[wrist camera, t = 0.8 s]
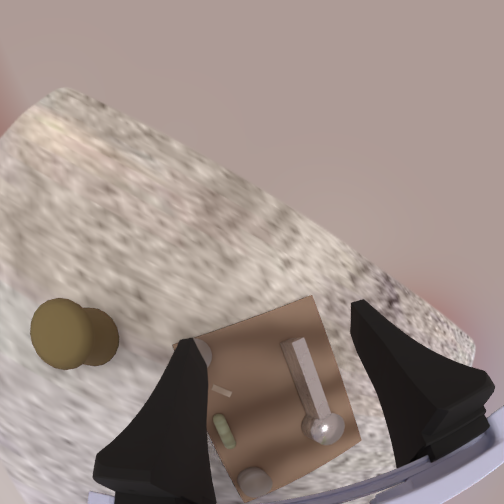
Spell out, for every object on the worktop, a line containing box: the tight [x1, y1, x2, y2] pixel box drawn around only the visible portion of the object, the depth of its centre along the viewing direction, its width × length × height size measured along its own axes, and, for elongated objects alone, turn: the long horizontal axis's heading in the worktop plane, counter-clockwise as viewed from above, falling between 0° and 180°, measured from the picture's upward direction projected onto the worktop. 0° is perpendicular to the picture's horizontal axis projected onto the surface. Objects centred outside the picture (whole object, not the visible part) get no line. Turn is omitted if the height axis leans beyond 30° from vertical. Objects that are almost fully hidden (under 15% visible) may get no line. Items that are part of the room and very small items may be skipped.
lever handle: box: [280, 337, 345, 445], centre depth 27 cm, size 12×4×3 cm, turn 20°
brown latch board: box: [173, 295, 361, 503], centre depth 27 cm, size 20×16×4 cm
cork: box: [30, 298, 119, 370], centre depth 20 cm, size 6×6×11 cm
